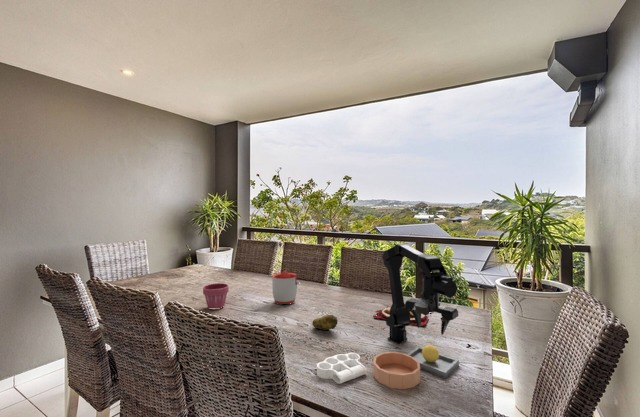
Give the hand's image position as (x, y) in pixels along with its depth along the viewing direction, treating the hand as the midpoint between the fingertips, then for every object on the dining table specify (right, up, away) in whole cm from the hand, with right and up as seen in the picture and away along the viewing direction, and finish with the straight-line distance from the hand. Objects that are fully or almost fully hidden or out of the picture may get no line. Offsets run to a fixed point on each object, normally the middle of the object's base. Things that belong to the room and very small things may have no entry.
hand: (430, 330), depth 116 cm
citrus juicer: (-63, -12, +73) cm, 97 cm away
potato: (-39, -12, +30) cm, 51 cm away
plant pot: (-103, -12, +64) cm, 122 cm away
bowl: (-15, -12, -9) cm, 21 cm away
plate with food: (+3, -12, +50) cm, 52 cm away
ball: (-1, -8, -1) cm, 8 cm away
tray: (0, -12, -1) cm, 12 cm away
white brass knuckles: (-34, -13, -6) cm, 37 cm away
